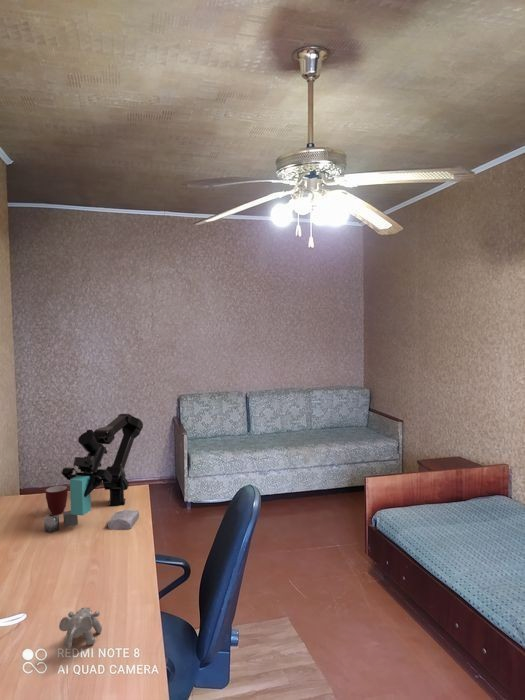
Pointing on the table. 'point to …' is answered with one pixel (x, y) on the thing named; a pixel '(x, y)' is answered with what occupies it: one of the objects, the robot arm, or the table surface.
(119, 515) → the stone block
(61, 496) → the mug
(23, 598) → the table surface
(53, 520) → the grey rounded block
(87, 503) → the teal block
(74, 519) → the rubber cube
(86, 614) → the elephant statuette
